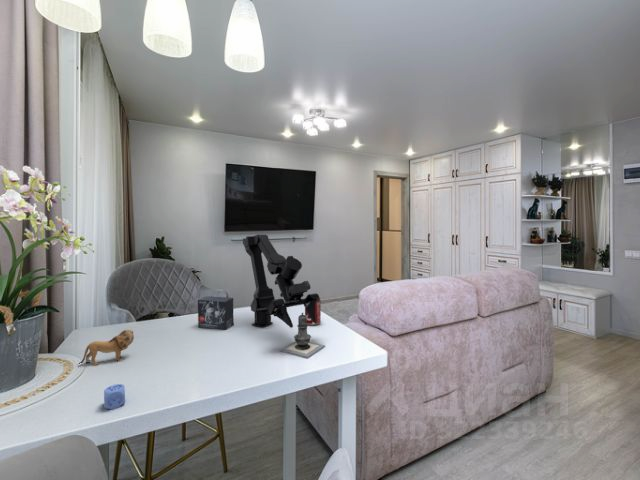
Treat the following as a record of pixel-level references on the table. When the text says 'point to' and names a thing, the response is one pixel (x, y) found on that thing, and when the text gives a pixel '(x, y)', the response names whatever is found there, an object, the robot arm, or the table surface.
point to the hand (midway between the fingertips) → (303, 324)
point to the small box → (215, 312)
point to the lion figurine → (109, 346)
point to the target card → (303, 353)
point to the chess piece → (302, 334)
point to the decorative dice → (114, 396)
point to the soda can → (317, 314)
